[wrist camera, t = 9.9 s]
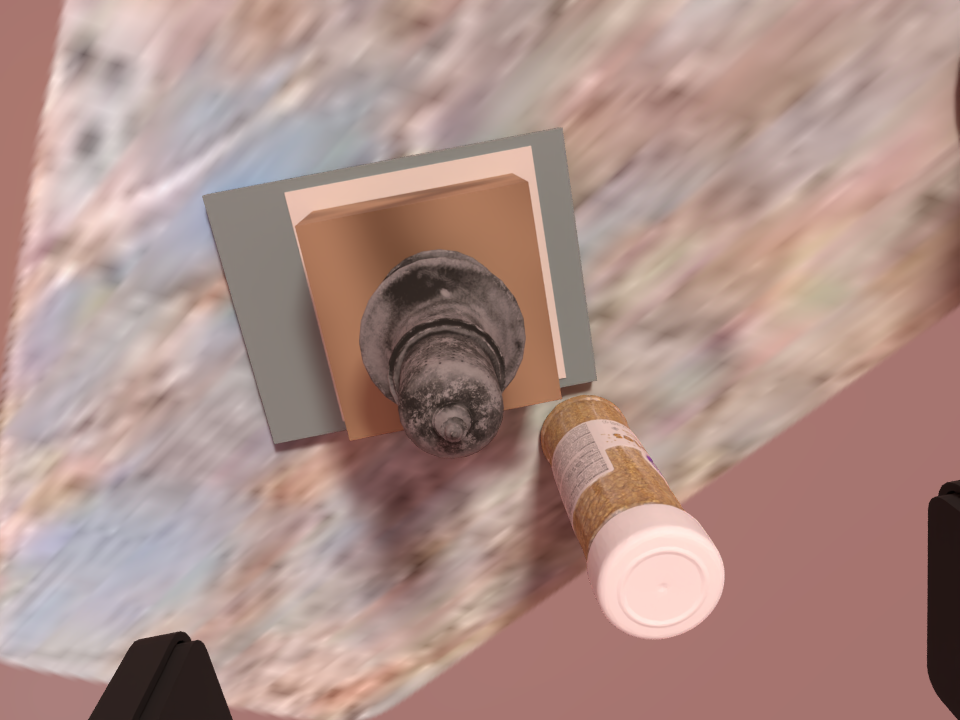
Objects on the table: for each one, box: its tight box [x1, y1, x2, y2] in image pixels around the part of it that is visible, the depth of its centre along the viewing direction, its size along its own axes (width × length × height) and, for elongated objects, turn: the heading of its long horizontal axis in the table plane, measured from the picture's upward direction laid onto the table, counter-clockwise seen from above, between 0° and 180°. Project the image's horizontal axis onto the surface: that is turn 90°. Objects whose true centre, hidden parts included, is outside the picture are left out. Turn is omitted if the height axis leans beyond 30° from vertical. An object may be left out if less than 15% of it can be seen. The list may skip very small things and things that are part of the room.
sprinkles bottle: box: [541, 395, 725, 639], centre depth 32 cm, size 5×5×14 cm
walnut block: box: [295, 173, 562, 441], centre depth 32 cm, size 9×9×5 cm
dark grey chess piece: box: [359, 249, 526, 458], centre depth 24 cm, size 6×6×12 cm
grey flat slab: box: [202, 128, 597, 444], centre depth 35 cm, size 16×12×1 cm
